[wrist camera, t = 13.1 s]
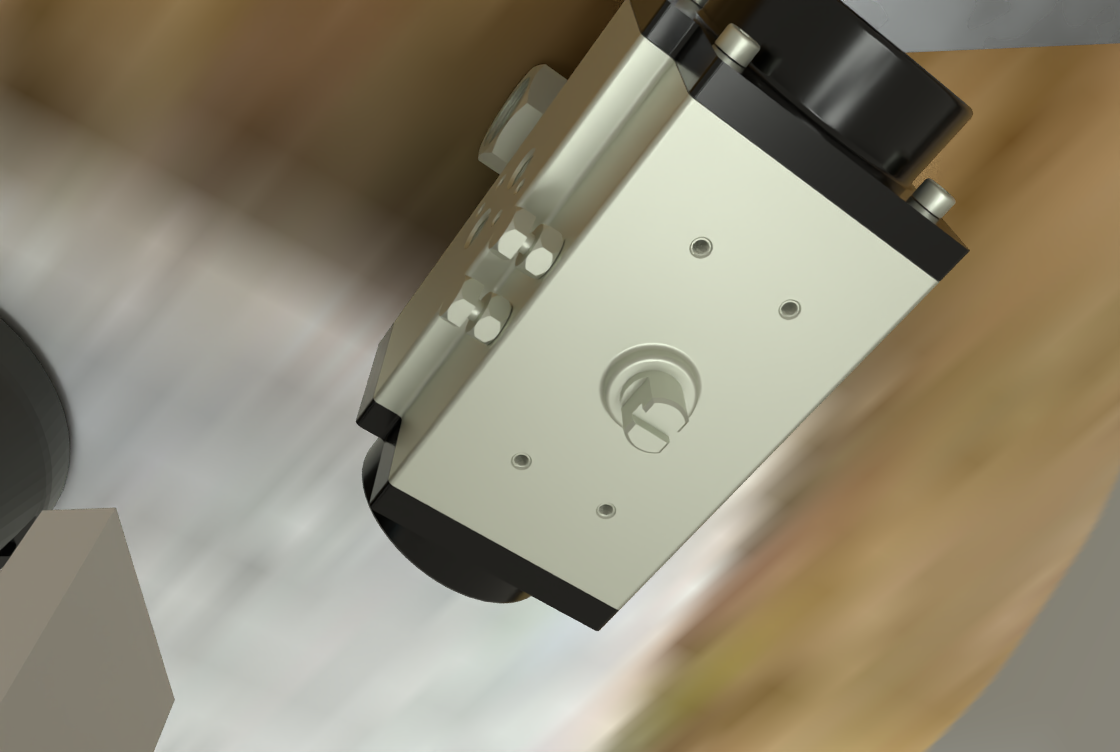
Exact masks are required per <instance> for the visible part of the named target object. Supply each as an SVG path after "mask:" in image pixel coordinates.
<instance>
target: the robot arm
mask: <svg viewBox="0 0 1120 752" xmlns="http://www.w3.org/2000/svg"><path fill="white" fill-rule="evenodd" d="M69 459H70V443H69V433H68V428H67V422H66V419H65V415H64V411H63V408H62V405H61V403H60V400H59V397H58V395H57V393H56V391H55V389H54V386H53V384H52V383H51V381H50V379H49V377H48V375H47V373H46V372H45V370H44V369H43V367H42V366H41V364H40V362H39V361H38V360H37V358H36V357H35V356H34V354H33V353H32V351H31V350H30V349H29V348H28V347H27V345H26V344H25V343H24V342H23V341H22V339H21V338H20V337H19V336H18V335H17V334H16V333H15V332H14V331H13V330H12V329H11V328H10V327H9V326H8V325H7V324H6V323H5V322H4V321H3V320H2V319H1V318H0V569H2V570H1V571H0V752H154V750H155V747H156V745H157V742H158V740H159V737H160V735H161V732H162V730H163V727H164V725H165V723H166V720H167V718H168V715H169V713H170V710H171V708H172V705H173V703H174V700H175V699H174V696H173V693H172V689H171V686H170V683H169V680H168V676H167V673H166V670H165V667H164V663H163V660H162V657H161V654H160V650H159V647H158V644H157V640H156V637H155V634H154V631H153V627H152V624H151V621H150V618H149V614H148V611H147V608H146V605H145V601H144V598H143V595H142V592H141V588H140V585H139V582H138V579H137V575H136V572H135V569H134V565H133V562H132V559H131V556H130V552H129V549H128V546H127V543H126V539H125V536H124V533H123V530H122V526H121V523H120V520H119V517H118V513H117V510H116V508H97V509H71V510H52V509H53V508H54V506H55V505H56V503H57V501H58V499H59V497H60V495H61V493H62V490H63V488H64V485H65V481H66V478H67V473H68V468H69Z"/></svg>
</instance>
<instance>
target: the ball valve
mask: <svg viewBox="0 0 1120 752" xmlns="http://www.w3.org/2000/svg"><path fill="white" fill-rule="evenodd" d="M972 115H973V111H972V109H971V108H970V107H969V106H968V105H967V104H966V103H964V102H963V101H962V100H961V99H960V98H958V97H957V96H956V95H955V94H954V93H953V92H951V91H950V90H949V89H948V88H947V87H945V86H944V85H943V84H942V83H941V82H939V81H938V80H937V79H936V78H935V77H933V76H932V75H931V74H930V73H928V72H927V71H926V70H925V69H924V68H922V67H921V66H920V65H919V64H918V63H916V62H915V61H914V60H913V59H912V58H910V57H909V56H908V55H907V54H906V53H904V52H903V51H902V50H901V49H900V48H898V47H897V46H896V45H895V44H893V43H892V42H891V41H890V40H889V39H887V38H886V37H885V36H884V35H883V34H881V33H880V32H879V31H878V30H877V29H875V28H874V27H873V26H872V25H870V24H869V23H868V22H867V21H866V20H864V19H863V18H862V17H861V16H860V15H858V14H857V13H856V12H855V11H853V10H852V9H851V8H850V7H849V6H847V5H846V4H845V3H844V2H843V1H841V0H625V1H624V2H623V4H622V5H621V6H620V8H619V9H618V11H617V12H616V13H615V15H614V16H613V18H612V19H611V20H610V22H609V23H608V25H607V26H606V27H605V29H604V30H603V32H602V33H601V34H600V36H599V37H598V39H597V40H596V41H595V43H594V44H593V46H592V47H591V48H590V50H589V51H588V53H587V54H586V55H585V57H584V58H583V60H582V61H581V62H580V64H579V65H578V67H577V68H576V69H575V71H574V72H573V73H572V75H571V76H570V78H569V79H568V80H567V79H565V78H564V77H563V76H561V75H560V74H558V73H557V72H556V71H554V70H553V69H552V68H550V67H549V66H547V65H546V64H542V65H538V66H535V67H533V68H532V69H531V70H530V71H529V72H528V73H527V74H526V75H525V76H524V78H523V79H522V80H521V81H520V83H519V84H518V85H517V87H516V88H515V89H514V91H513V92H512V93H511V95H510V96H509V98H508V99H507V101H506V102H505V104H504V105H503V107H502V108H501V110H500V111H499V113H498V114H497V116H496V118H495V119H494V121H493V123H492V124H491V126H490V128H489V130H488V132H487V133H486V135H485V137H484V139H483V142H482V144H481V146H480V149H479V156H478V160H479V161H480V162H482V163H483V164H485V165H486V166H488V167H489V168H491V169H492V170H494V171H495V172H497V173H498V174H500V175H499V177H498V178H497V180H496V181H495V182H494V184H493V185H492V187H491V188H490V189H489V191H488V192H487V194H486V195H485V196H484V198H483V199H482V201H481V202H480V203H479V205H478V206H477V207H476V209H475V210H474V212H473V213H472V214H471V216H470V217H469V219H468V220H467V221H466V223H465V224H464V226H463V227H462V228H461V230H460V231H459V233H458V234H457V235H456V237H455V238H454V240H453V241H452V242H451V244H450V245H449V247H448V248H447V249H446V251H445V252H444V254H443V255H442V256H441V258H440V259H439V261H438V262H437V263H436V265H435V266H434V268H433V269H432V270H431V272H430V273H429V274H428V276H427V277H426V279H425V280H424V281H423V283H422V284H421V286H420V287H419V288H418V290H417V291H416V293H415V294H414V295H413V297H412V298H411V300H410V301H409V302H408V304H407V305H406V307H405V308H404V309H403V311H402V312H401V314H400V315H399V316H398V318H397V319H396V321H395V322H394V323H393V325H392V326H391V328H390V329H389V330H388V332H387V333H386V335H385V336H384V337H383V339H382V340H381V341H380V343H379V345H378V349H377V352H376V355H375V359H374V362H373V365H372V369H371V372H370V375H369V379H368V382H367V385H366V389H365V392H364V395H363V399H362V402H361V405H360V409H359V412H358V415H357V419H356V423H357V424H358V425H359V426H360V427H362V428H363V429H365V430H367V431H369V432H371V433H372V434H374V435H376V436H378V439H377V440H376V441H375V443H374V444H373V445H372V447H371V448H370V449H369V451H368V453H367V455H366V457H365V460H364V462H363V468H362V483H363V489H364V493H365V497H366V500H367V502H368V505H369V508H370V510H371V512H372V514H373V516H374V518H375V519H376V521H377V523H378V524H379V526H380V528H381V529H382V530H383V532H384V533H385V534H386V536H387V537H388V539H389V540H390V541H391V542H392V543H393V544H394V546H395V547H396V548H397V549H398V550H399V551H400V552H401V553H402V554H403V555H404V556H405V557H406V558H407V559H408V560H409V561H410V562H411V563H413V564H414V565H415V566H416V567H417V568H418V569H420V570H421V571H422V572H424V573H425V574H426V575H428V576H429V577H431V578H432V579H434V580H435V581H437V582H438V583H440V584H442V585H444V586H445V587H447V588H449V589H451V590H453V591H455V592H457V593H460V594H462V595H465V596H467V597H470V598H474V599H477V600H481V601H484V602H493V603H513V602H518V601H522V600H524V599H527V598H529V597H530V596H533V597H534V598H536V599H538V600H540V601H542V602H544V603H546V604H547V605H549V606H551V607H553V608H555V609H557V610H558V611H560V612H562V613H564V614H566V615H568V616H570V617H571V618H573V619H575V620H577V621H579V622H581V623H583V624H584V625H586V626H588V627H590V628H592V629H594V630H596V631H599V630H600V629H601V628H602V627H603V626H604V625H605V624H606V623H607V622H608V621H609V620H610V619H611V618H612V617H613V616H614V615H615V614H616V613H617V612H618V611H619V610H620V609H621V608H622V607H623V606H624V605H625V604H626V603H627V602H628V601H629V600H630V599H631V598H632V597H633V595H634V594H635V593H636V592H637V591H638V590H639V589H640V588H641V587H642V586H643V585H644V584H645V583H646V582H647V581H648V580H649V579H650V578H651V577H652V576H653V575H654V574H655V573H656V572H657V571H658V570H659V569H660V568H661V567H662V566H663V565H664V564H665V563H666V562H667V561H668V560H669V559H670V558H671V557H672V556H673V555H674V553H675V552H676V551H677V550H678V549H679V548H680V547H681V546H682V545H683V544H684V543H685V542H686V541H687V540H688V539H689V538H690V537H691V536H692V535H693V534H694V533H695V532H696V531H697V530H698V529H699V528H700V527H701V526H702V525H703V524H704V523H705V522H706V521H707V520H708V519H709V518H710V517H711V516H712V515H713V514H714V512H715V511H716V510H717V509H718V508H719V507H720V506H721V505H722V504H723V503H724V502H725V501H726V500H727V499H728V498H729V497H730V496H731V495H732V494H733V493H734V492H735V491H736V490H737V489H738V488H739V487H740V486H741V485H742V484H743V483H744V482H745V481H746V480H747V479H748V478H749V477H750V476H751V475H752V474H753V473H754V471H755V470H756V469H757V468H758V467H759V466H760V465H761V464H762V463H763V462H764V461H765V460H766V459H767V458H768V457H769V456H770V455H771V454H772V453H773V452H774V451H775V450H776V449H777V448H778V447H779V446H780V445H781V444H782V443H783V442H784V441H785V440H786V439H787V438H788V437H789V436H790V435H791V434H792V433H793V432H794V431H795V429H796V428H797V427H798V426H799V425H800V424H801V423H802V422H803V421H804V420H805V419H806V418H807V417H808V416H809V415H810V414H811V413H812V412H813V411H814V410H815V409H816V408H817V407H818V406H819V405H820V404H821V403H822V402H823V401H824V400H825V399H826V398H827V397H828V396H829V395H830V394H831V393H832V392H833V391H834V390H835V388H836V387H837V386H838V385H839V384H840V383H841V382H842V381H843V380H844V379H845V378H846V377H847V376H848V375H849V374H850V373H851V372H852V371H853V370H854V369H855V368H856V367H857V366H858V365H859V364H860V363H861V362H862V361H863V360H864V359H865V358H866V357H867V356H868V355H869V354H870V353H871V352H872V351H873V350H874V349H875V347H876V346H877V345H878V344H879V343H880V342H881V341H882V340H883V339H884V338H885V337H886V336H887V335H888V334H889V333H890V332H891V331H892V330H893V329H894V328H895V327H896V326H897V325H898V324H899V323H900V322H901V321H902V320H903V319H904V318H905V317H906V316H907V315H908V314H909V313H910V312H911V311H912V310H913V309H914V308H915V307H916V305H917V304H918V303H919V302H920V301H921V300H922V299H923V298H924V297H925V296H926V295H927V294H928V293H929V292H930V291H931V290H932V289H933V288H934V287H935V286H936V285H937V284H938V283H939V281H941V280H942V279H943V278H944V277H945V276H946V275H947V274H948V273H949V272H950V271H951V270H952V269H953V268H954V267H955V266H956V264H957V263H958V262H959V261H960V260H961V259H962V258H963V257H964V256H965V255H966V254H967V253H968V252H969V251H970V250H969V249H968V248H967V247H966V245H965V244H964V243H963V242H962V241H961V240H960V238H959V237H958V236H957V235H956V234H955V233H954V232H953V230H952V229H951V228H950V227H949V226H948V225H947V224H946V222H945V221H944V220H943V219H942V217H943V216H944V214H945V213H946V212H947V211H948V210H949V209H950V208H951V207H952V206H953V205H954V204H955V199H954V198H953V197H952V196H951V195H950V194H949V193H948V192H947V191H946V190H945V189H943V188H942V187H941V186H940V185H939V184H937V183H936V182H935V181H933V180H932V179H929V178H928V179H926V180H925V181H924V182H923V183H922V184H921V185H920V186H919V187H918V188H917V189H916V188H915V187H914V186H913V185H912V182H913V181H914V180H915V179H916V178H917V176H918V175H919V174H920V173H921V172H922V171H923V170H924V169H925V168H926V167H927V166H928V164H929V163H930V162H931V161H932V160H933V159H934V158H935V157H936V156H937V155H938V153H939V152H940V151H941V150H942V149H943V148H944V147H945V146H946V145H947V144H948V143H949V141H950V140H951V139H952V138H953V137H954V136H955V135H956V134H957V133H958V132H959V131H960V129H961V128H962V127H963V126H964V125H965V124H966V123H967V122H968V121H969V120H970V119H971V117H972Z"/></svg>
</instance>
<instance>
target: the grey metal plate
mask: <svg viewBox="0 0 1120 752" xmlns="http://www.w3.org/2000/svg"><path fill="white" fill-rule="evenodd" d="M841 1H843V2H844V3H845V4H846V5H847V6H849V7H850V8H851V9H852V10H853V11H855V12H856V13H857V14H858V15H860V16H861V17H862V18H863V19H864V20H866V21H867V22H868V23H869V24H870V25H872V26H873V27H874V28H875V29H877V30H878V31H879V32H880V33H881V34H883V35H884V36H885V37H886V38H887V39H889V40H890V41H891V42H892V43H893V44H895V45H896V46H897V47H898V48H900V49H901V50H902V51H903V52H927V51H950V50H973V49H995V48H1018V47H1041V46H1064V45H1087V44H1110V43H1120V0H841Z"/></svg>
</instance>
